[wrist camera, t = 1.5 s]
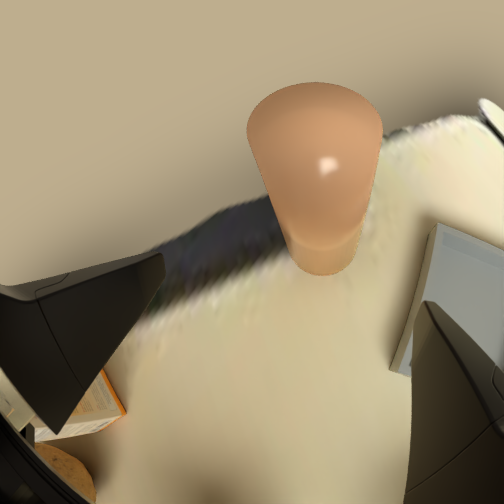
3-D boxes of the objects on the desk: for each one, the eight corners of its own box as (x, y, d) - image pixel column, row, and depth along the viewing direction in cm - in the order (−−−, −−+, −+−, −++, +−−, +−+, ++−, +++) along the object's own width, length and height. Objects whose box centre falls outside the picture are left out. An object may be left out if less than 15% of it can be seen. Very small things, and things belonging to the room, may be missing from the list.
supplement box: (68, 364, 24) (-35, 347, 12) (92, 342, 24) (-20, 316, 12) (101, 433, 21) (-9, 446, 9) (129, 415, 21) (7, 429, 9)
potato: (135, 516, 17) (85, 543, 9) (61, 504, 18) (18, 515, 10) (99, 435, 21) (39, 445, 13) (35, 439, 22) (-12, 441, 14)
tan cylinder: (344, 285, 21) (367, 195, 9) (276, 261, 23) (223, 158, 11) (365, 222, 22) (390, 96, 10) (301, 202, 24) (275, 76, 12)
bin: (495, 400, 14) (511, 403, 12) (389, 370, 18) (397, 372, 15) (523, 276, 16) (537, 267, 14) (428, 235, 20) (438, 222, 18)
